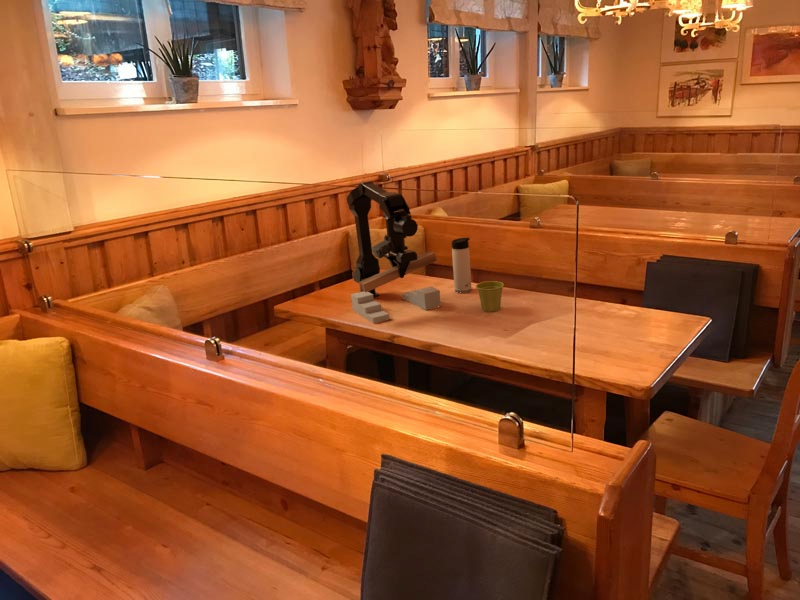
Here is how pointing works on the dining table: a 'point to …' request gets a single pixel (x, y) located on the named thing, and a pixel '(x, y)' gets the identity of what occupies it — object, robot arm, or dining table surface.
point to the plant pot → (490, 295)
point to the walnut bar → (396, 272)
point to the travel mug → (461, 265)
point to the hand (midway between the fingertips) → (399, 276)
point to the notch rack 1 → (368, 307)
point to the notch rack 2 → (424, 297)
